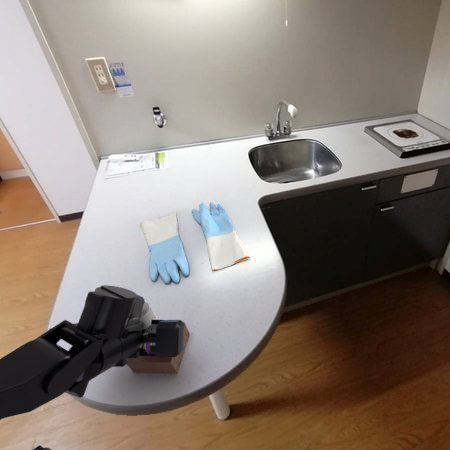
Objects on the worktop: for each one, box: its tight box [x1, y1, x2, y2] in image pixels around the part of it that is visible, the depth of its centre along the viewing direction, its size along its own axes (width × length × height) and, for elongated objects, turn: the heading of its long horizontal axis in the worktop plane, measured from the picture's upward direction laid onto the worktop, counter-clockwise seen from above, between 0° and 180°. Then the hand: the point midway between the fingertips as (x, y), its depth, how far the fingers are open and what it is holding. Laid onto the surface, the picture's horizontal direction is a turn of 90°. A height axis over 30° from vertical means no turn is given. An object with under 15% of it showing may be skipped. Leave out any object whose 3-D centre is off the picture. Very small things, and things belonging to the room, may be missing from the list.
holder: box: [126, 321, 190, 374], centre depth 67 cm, size 9×9×5 cm
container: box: [139, 301, 159, 356], centre depth 63 cm, size 5×5×15 cm
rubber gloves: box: [140, 201, 251, 284], centre depth 95 cm, size 27×33×6 cm
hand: (152, 327), depth 64 cm, fingers closed on container, 4 cm apart
